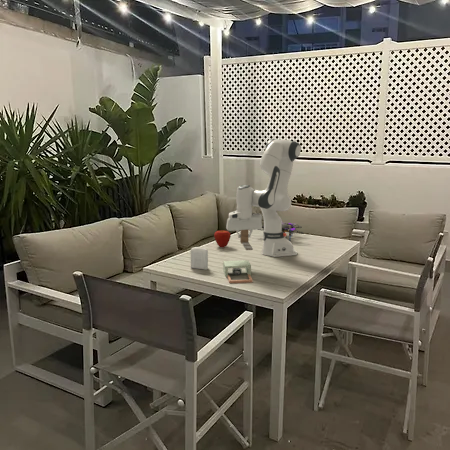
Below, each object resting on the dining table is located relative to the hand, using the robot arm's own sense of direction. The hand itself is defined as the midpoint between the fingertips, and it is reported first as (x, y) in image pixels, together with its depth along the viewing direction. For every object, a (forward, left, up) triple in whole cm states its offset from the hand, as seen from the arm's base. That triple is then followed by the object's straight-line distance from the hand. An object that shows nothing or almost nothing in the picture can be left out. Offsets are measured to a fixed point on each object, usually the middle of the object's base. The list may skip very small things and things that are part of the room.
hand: (244, 237), depth 260 cm
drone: (-38, -66, -17) cm, 78 cm away
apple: (+8, -44, -17) cm, 48 cm away
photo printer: (+26, +2, -17) cm, 31 cm away
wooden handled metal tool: (0, +7, -3) cm, 8 cm away
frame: (+6, +25, -17) cm, 30 cm away
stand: (+6, +14, -17) cm, 23 cm away
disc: (+6, +14, -17) cm, 23 cm away
